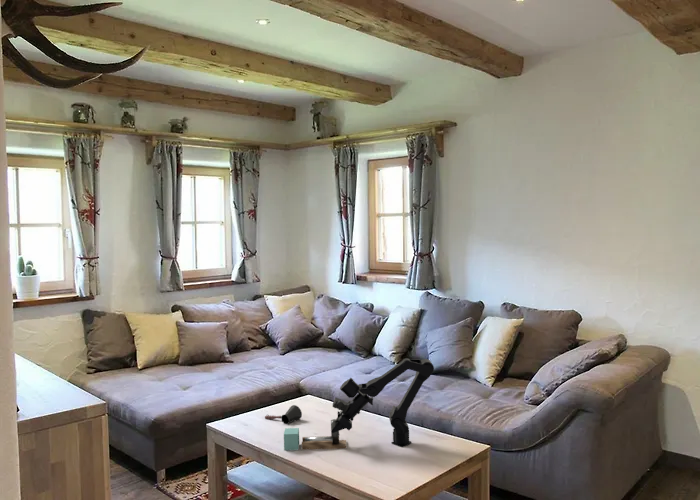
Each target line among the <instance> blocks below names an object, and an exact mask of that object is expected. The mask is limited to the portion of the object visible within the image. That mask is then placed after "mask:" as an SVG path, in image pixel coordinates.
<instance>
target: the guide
mask: <svg viewBox="0 0 700 500" xmlns="http://www.w3.org/2000/svg"><path fill="white" fill-rule="evenodd" d="M305 437H306V436H302V441H301V451H305V450H332V449H333V450H334V449H335V450H336V449H337V450H339V449H347V440H346V439H341V440H340V439H339V444H332V441H305ZM321 437H329V436H326V435H325V436H324V435H323V436H321Z"/></svg>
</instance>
